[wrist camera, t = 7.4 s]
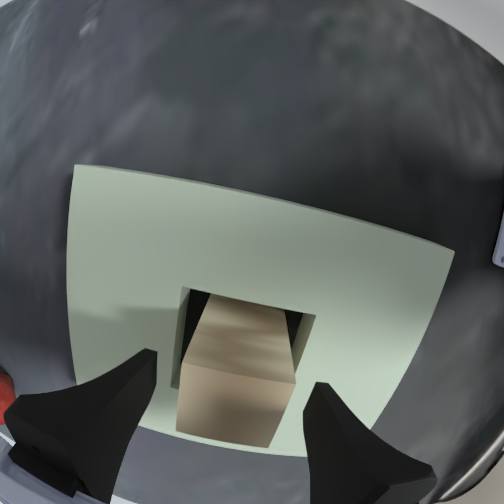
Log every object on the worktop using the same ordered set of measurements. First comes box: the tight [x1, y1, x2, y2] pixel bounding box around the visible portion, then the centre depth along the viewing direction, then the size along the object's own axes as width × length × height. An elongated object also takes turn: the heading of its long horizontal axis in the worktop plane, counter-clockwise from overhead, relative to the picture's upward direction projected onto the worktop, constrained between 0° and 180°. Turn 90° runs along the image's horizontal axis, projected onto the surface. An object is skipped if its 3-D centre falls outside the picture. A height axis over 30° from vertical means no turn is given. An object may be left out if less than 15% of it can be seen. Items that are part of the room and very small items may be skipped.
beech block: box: [175, 293, 296, 448], centre depth 13 cm, size 4×4×7 cm
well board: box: [67, 164, 455, 457], centre depth 15 cm, size 20×16×2 cm
